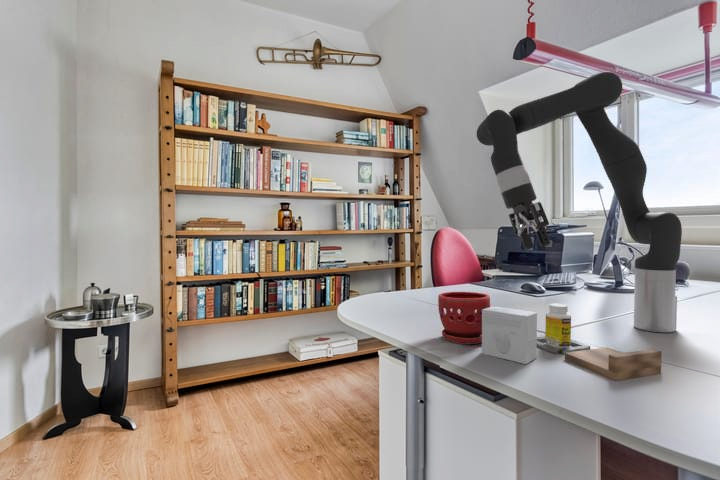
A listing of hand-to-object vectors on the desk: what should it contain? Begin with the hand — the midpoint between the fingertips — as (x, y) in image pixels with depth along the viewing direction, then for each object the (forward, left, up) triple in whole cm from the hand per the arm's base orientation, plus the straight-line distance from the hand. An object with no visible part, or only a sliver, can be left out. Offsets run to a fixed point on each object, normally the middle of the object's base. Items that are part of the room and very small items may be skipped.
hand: (537, 247), depth 94 cm
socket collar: (-3, +4, -24) cm, 25 cm away
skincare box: (+13, +6, -25) cm, 29 cm away
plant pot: (+16, -8, -25) cm, 30 cm away
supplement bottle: (-3, +4, -25) cm, 25 cm away
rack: (-3, +18, -24) cm, 30 cm away
